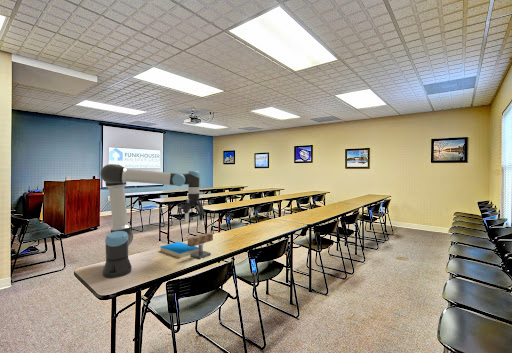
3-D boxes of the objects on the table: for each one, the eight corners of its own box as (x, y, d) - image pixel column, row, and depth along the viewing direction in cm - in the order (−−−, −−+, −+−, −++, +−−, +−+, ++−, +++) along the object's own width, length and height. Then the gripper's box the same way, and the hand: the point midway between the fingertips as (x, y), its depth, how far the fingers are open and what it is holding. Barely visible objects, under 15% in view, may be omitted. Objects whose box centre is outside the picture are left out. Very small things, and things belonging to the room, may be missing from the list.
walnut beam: (191, 247, 169) (191, 239, 169) (187, 245, 171) (187, 238, 171) (212, 240, 185) (212, 233, 185) (209, 239, 188) (209, 232, 187)
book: (180, 253, 173) (159, 246, 188) (180, 259, 173) (159, 251, 188) (199, 247, 187) (179, 241, 202) (199, 252, 187) (179, 246, 202)
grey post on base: (200, 259, 172) (200, 245, 171) (190, 256, 177) (190, 243, 177) (210, 254, 180) (210, 242, 179) (201, 252, 185) (201, 240, 185)
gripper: (210, 194, 170) (209, 225, 170) (186, 191, 184) (185, 220, 185) (202, 194, 164) (201, 227, 164) (177, 192, 178) (177, 222, 179)
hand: (193, 223), depth 174 cm, fingers open, 13 cm apart
